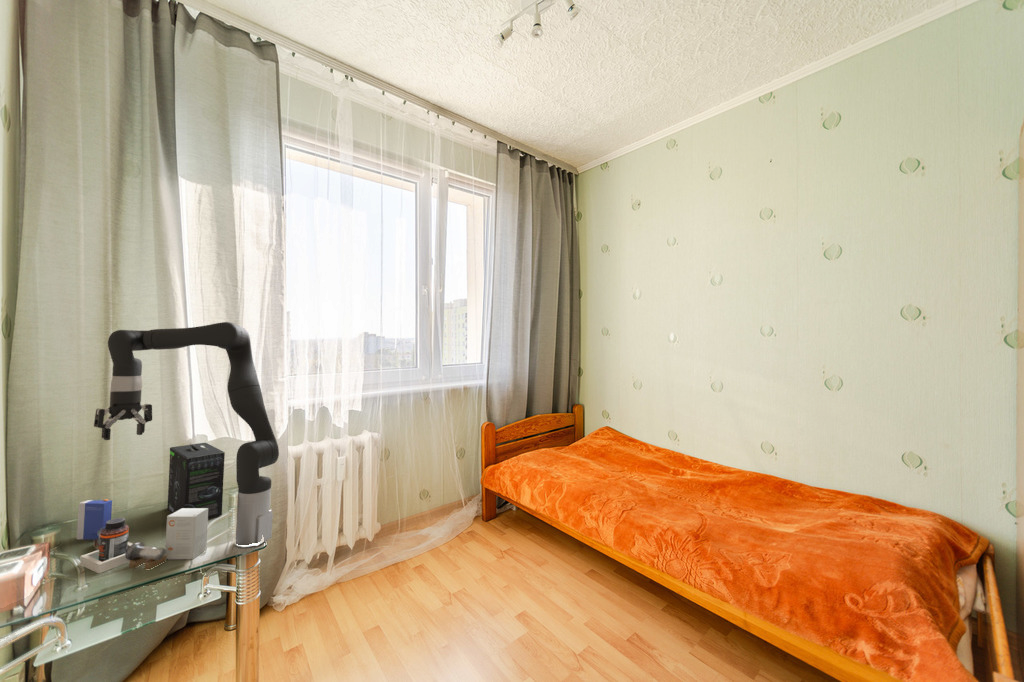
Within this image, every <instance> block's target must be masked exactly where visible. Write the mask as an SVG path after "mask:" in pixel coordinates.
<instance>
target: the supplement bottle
mask: <svg viewBox="0 0 1024 682" xmlns="http://www.w3.org/2000/svg"><path fill="white" fill-rule="evenodd" d="M105 527H106V528H105V529H103V530H102V531H101V534H100V546H99V561H101V562H103V561H106V560H109V559H111V558H114V557H117V556H119V555H122V554H125V553H126V551H127V546H128V542H129V530H130V528H129V525H128V524H126V518H125V517H116V518H111V520H109V521H107V522H106V526H105Z"/></svg>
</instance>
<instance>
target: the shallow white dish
mask: <svg viewBox="0 0 1024 682" xmlns="http://www.w3.org/2000/svg"><path fill="white" fill-rule="evenodd" d="M132 544H133V543H132V542H131V541H128V546H127V549H128V548H129V547H130V546H131V545H132ZM125 554H126V553H125ZM125 554H122V555H119V556H117V557H114V558H111V559H109V560H106V561H103V562H101V561H99V550H97V551H96V550H94V551H92V552H89V553H86V554H82V555H80V558H79V559H80V560H79V561H80V562H79V563H80V564H79V565H80V566H82V567H84V568H86V569H88V570H91V571H92V572H94V573H97V574H102V573H103V572H106V571H109V570H112V569H114V568H116V567H119V566H122V565H124V564H127V563H129V561H130V560H127V559H126V557H125Z"/></svg>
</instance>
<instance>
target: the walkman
mask: <svg viewBox="0 0 1024 682" xmlns="http://www.w3.org/2000/svg"><path fill="white" fill-rule="evenodd" d="M112 506H113V500H111V499H106V498H105V499H103V500H102V499H88V500H84V501H81V502H79V503H78V514H77V515H78V516H77V527H76V528H77V529H76V540H94V539H97V538H99V537H98V535H97V531H98V530H99V529H100V528H102V527H105V526H106V522H107V521H109V520H111V519H112V511H113V510H112V509H113V508H112Z"/></svg>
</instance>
